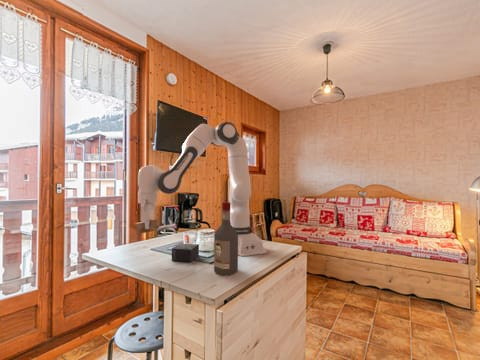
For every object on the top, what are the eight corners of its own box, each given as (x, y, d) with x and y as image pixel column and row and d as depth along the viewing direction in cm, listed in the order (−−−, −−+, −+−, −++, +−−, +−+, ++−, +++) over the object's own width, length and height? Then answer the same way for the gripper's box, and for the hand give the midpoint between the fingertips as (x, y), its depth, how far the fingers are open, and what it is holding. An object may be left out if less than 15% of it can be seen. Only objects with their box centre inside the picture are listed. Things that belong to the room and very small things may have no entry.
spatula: (135, 235, 115) (133, 224, 115) (139, 232, 121) (137, 222, 121) (174, 227, 117) (172, 217, 117) (176, 225, 123) (174, 215, 123)
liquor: (225, 266, 113) (225, 201, 114) (240, 270, 108) (241, 202, 108) (210, 271, 106) (211, 202, 106) (226, 277, 101) (227, 204, 101)
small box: (171, 261, 120) (191, 262, 118) (171, 248, 120) (191, 249, 118) (180, 255, 130) (199, 256, 128) (180, 242, 130) (199, 243, 128)
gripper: (152, 200, 109) (152, 231, 109) (156, 197, 129) (156, 223, 129) (136, 201, 108) (137, 232, 108) (144, 197, 128) (144, 224, 128)
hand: (147, 227), depth 119 cm, fingers closed on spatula, 3 cm apart
